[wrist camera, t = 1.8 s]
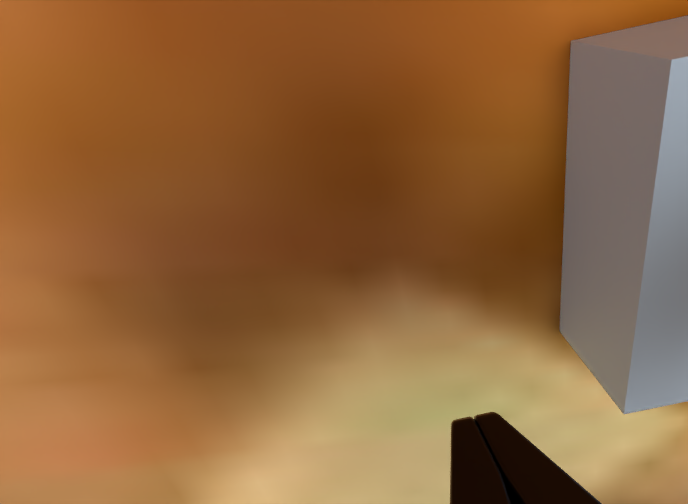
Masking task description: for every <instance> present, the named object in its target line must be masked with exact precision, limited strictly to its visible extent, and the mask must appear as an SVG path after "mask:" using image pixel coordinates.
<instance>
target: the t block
mask: <svg viewBox="0 0 688 504" xmlns="http://www.w3.org/2000/svg"><path fill="white" fill-rule="evenodd" d="M560 332H561V334H562V335H563V336H564V338H565V339H566V340H567V342H568V343H569V344H570V345H571V347H572V348H573V349H574V351H575V352H576V353H577V354H578V356H579V357H580V358H581V360H582V361H583V362H584V363H585V365H586V366H587V367H588V369H589V370H590V371H591V373H592V374H593V375H594V376H595V378H596V379H597V380H598V382H599V383H600V384H601V385H602V387H603V388H604V389H605V391H606V392H607V393H608V395H609V396H610V397H611V398H612V400H613V401H614V402H615V404H616V405H617V406H618V407H619V409H620V410H621V411H622V413H623V414H627V413H632V412H637V411H642V410H647V409H652V408H657V407H662V406H666V405H671V404H676V403H681V402H686V401H688V15H687V16H683V17H678V18H673V19H669V20H664V21H660V22H655V23H650V24H646V25H641V26H637V27H632V28H627V29H623V30H618V31H614V32H609V33H605V34H600V35H595V36H591V37H586V38H582V39H577V40H572V41H571V48H570V74H569V100H568V126H567V152H566V178H565V204H564V230H563V256H562V282H561V308H560Z"/></svg>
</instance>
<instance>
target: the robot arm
mask: <svg viewBox="0 0 688 504" xmlns="http://www.w3.org/2000/svg"><path fill="white" fill-rule="evenodd" d="M450 504H601V503H600V502H599V501H598V500H597V499H596V498H595V497H593V496H592V495H591V494H590V493H589V492H588V491H586V490H585V489H584V488H583V487H582V486H581V485H580V484H578V483H577V482H576V481H575V480H574V479H573V478H571V477H570V476H569V475H568V474H567V473H566V472H565V471H563V470H562V469H561V468H560V467H559V466H558V465H556V464H555V463H554V462H553V461H552V460H551V459H550V458H548V457H547V456H546V455H545V454H544V453H543V452H541V451H540V450H539V449H538V448H537V447H536V446H534V445H533V444H532V443H531V442H530V441H529V440H528V439H526V438H525V437H524V436H523V435H522V434H521V433H519V432H518V431H517V430H516V429H515V428H514V427H513V426H511V425H510V424H509V423H508V422H507V421H506V420H504V419H503V418H502V417H501V416H500V415H499V414H497V413H495V412H489V413H484V414H480V415H476V416H475V417H474V419H473V418H472V417H466V418H461V419H457V420H453V421H452V423H451V476H450Z"/></svg>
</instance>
